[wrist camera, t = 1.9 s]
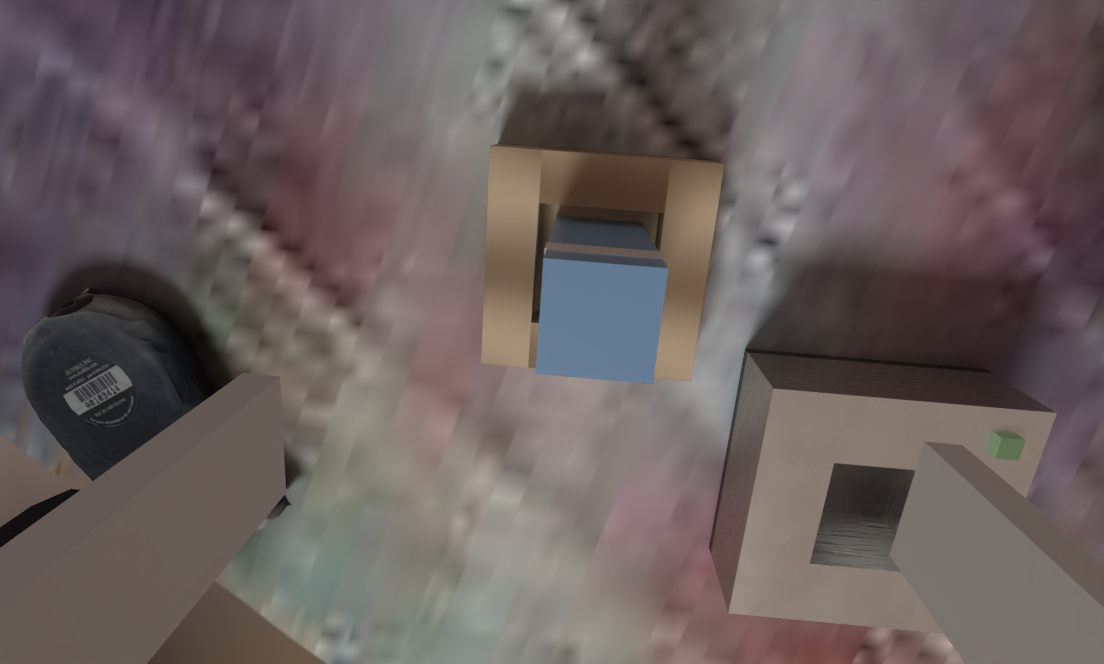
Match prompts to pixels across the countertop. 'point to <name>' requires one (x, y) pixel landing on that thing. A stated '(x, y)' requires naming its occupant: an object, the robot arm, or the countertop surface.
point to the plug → (600, 301)
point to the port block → (849, 478)
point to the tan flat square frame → (601, 193)
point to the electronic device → (111, 379)
